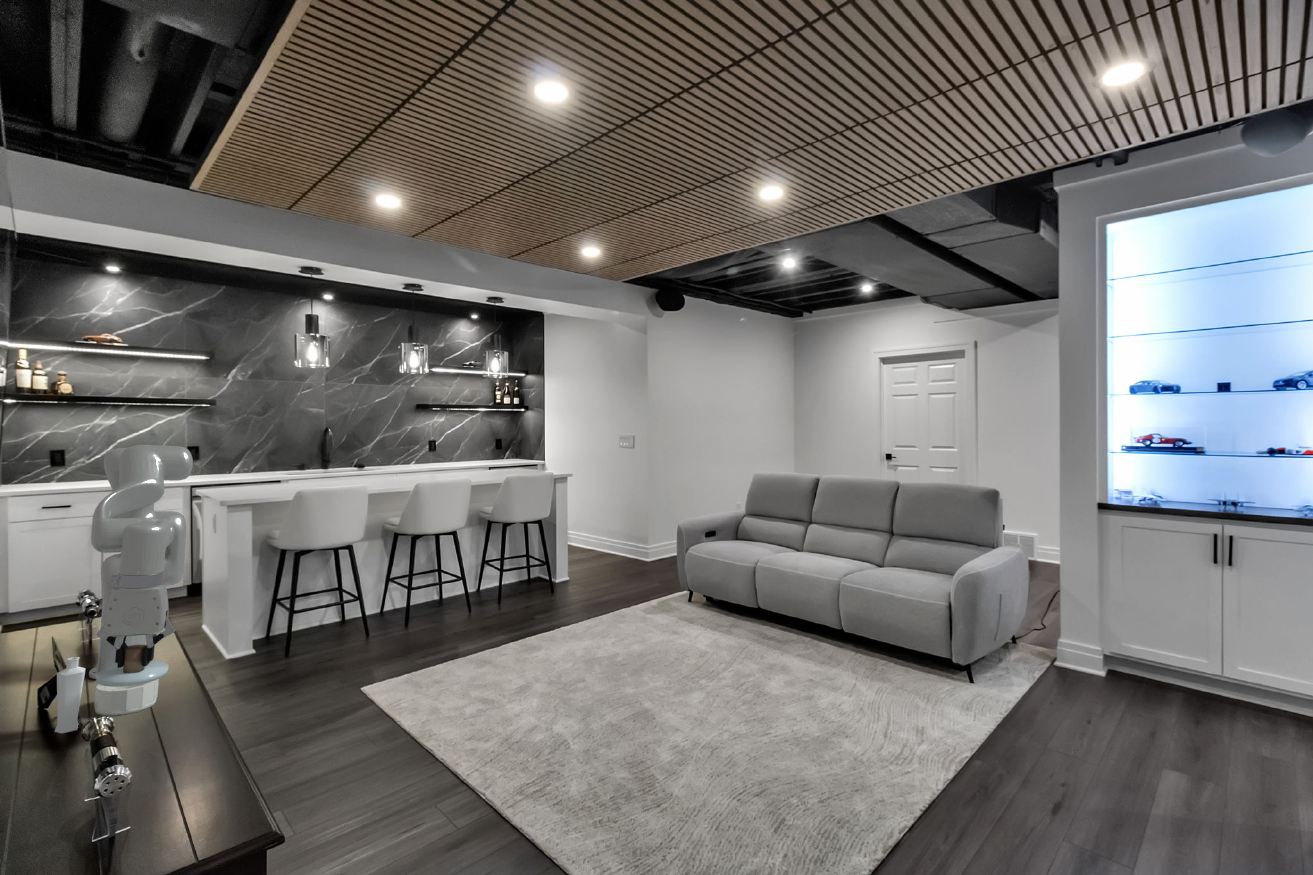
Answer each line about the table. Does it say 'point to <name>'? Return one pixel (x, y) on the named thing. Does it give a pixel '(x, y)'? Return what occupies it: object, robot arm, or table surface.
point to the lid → (132, 670)
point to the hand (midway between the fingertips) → (134, 664)
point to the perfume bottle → (69, 695)
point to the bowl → (125, 698)
